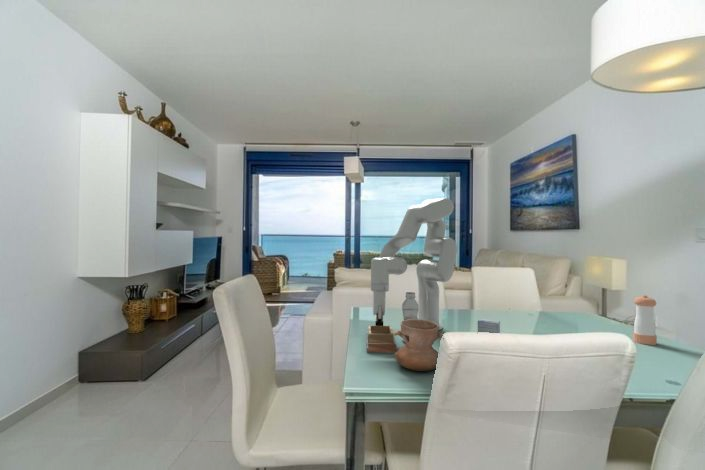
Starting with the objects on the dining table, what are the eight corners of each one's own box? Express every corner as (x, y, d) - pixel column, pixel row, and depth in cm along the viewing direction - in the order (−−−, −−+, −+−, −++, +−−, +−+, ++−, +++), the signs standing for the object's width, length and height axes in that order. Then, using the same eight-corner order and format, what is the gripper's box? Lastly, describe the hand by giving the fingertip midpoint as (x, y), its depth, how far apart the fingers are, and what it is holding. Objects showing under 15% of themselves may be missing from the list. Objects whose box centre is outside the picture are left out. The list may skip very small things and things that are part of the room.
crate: (368, 336, 141) (368, 325, 141) (390, 336, 141) (391, 325, 141) (368, 346, 128) (368, 334, 128) (393, 346, 128) (393, 334, 128)
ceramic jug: (391, 373, 105) (393, 327, 105) (392, 356, 119) (393, 316, 119) (451, 378, 103) (453, 331, 103) (445, 360, 117) (446, 319, 117)
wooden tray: (366, 335, 146) (366, 326, 146) (392, 335, 145) (392, 326, 145) (366, 354, 122) (366, 343, 122) (397, 355, 121) (397, 344, 121)
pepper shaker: (657, 342, 139) (657, 295, 139) (655, 346, 134) (656, 297, 134) (634, 338, 144) (634, 293, 144) (632, 342, 139) (632, 295, 139)
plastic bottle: (418, 346, 131) (419, 294, 131) (401, 345, 132) (401, 293, 133) (419, 341, 137) (419, 292, 138) (402, 340, 139) (402, 291, 139)
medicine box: (500, 342, 137) (500, 320, 137) (498, 345, 134) (498, 323, 134) (479, 339, 142) (479, 318, 142) (477, 341, 138) (477, 320, 138)
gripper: (370, 284, 151) (370, 326, 151) (370, 289, 136) (370, 335, 136) (387, 284, 150) (387, 326, 150) (389, 290, 135) (389, 336, 135)
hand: (379, 330), depth 143 cm, fingers closed
